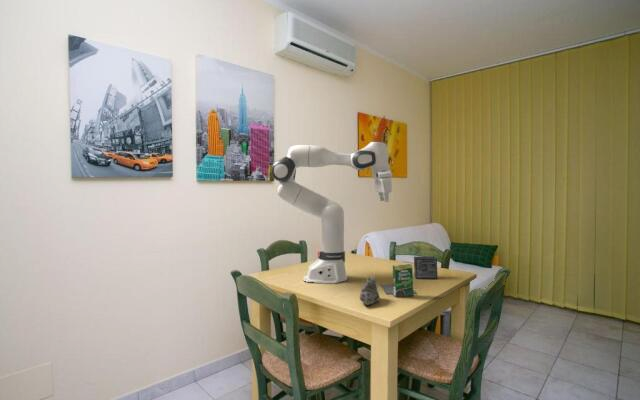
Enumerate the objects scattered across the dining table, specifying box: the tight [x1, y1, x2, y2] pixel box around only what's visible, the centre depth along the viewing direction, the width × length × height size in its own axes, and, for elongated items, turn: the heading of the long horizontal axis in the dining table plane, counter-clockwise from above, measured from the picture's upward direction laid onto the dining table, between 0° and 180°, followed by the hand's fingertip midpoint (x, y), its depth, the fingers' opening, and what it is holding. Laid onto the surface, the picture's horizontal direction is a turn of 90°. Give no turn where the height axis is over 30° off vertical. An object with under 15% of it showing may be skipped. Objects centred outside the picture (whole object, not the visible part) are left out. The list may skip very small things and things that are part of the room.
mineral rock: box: [359, 276, 380, 306], centre depth 137 cm, size 13×11×10 cm
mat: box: [380, 284, 418, 295], centre depth 153 cm, size 13×14×1 cm
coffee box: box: [392, 263, 414, 298], centre depth 144 cm, size 8×3×13 cm, turn 98°
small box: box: [413, 256, 438, 280], centre depth 174 cm, size 11×6×10 cm, turn 84°
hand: (384, 201), depth 170 cm, fingers open, 8 cm apart
